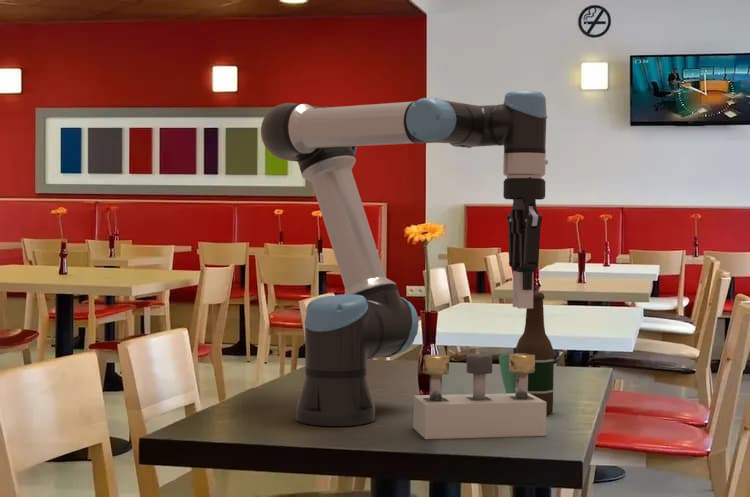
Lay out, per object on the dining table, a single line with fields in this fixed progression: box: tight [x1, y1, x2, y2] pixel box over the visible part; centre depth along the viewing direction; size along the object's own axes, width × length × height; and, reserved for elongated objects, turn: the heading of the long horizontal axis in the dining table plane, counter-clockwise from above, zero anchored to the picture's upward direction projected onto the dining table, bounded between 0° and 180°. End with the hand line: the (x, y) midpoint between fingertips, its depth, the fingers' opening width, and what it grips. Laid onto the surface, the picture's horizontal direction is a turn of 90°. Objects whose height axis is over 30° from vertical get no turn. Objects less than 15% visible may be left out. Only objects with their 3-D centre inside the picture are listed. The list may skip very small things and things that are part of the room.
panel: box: [412, 393, 547, 440], centre depth 195 cm, size 22×10×6 cm, turn 100°
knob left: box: [422, 354, 450, 402], centre depth 193 cm, size 5×5×8 cm
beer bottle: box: [514, 291, 555, 416], centre depth 214 cm, size 8×8×24 cm
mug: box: [498, 353, 515, 394], centre depth 226 cm, size 15×10×10 cm
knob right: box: [509, 353, 535, 400], centre depth 196 cm, size 5×5×8 cm
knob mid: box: [466, 353, 493, 401], centre depth 195 cm, size 5×5×8 cm
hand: (522, 307), depth 196 cm, fingers open, 2 cm apart
